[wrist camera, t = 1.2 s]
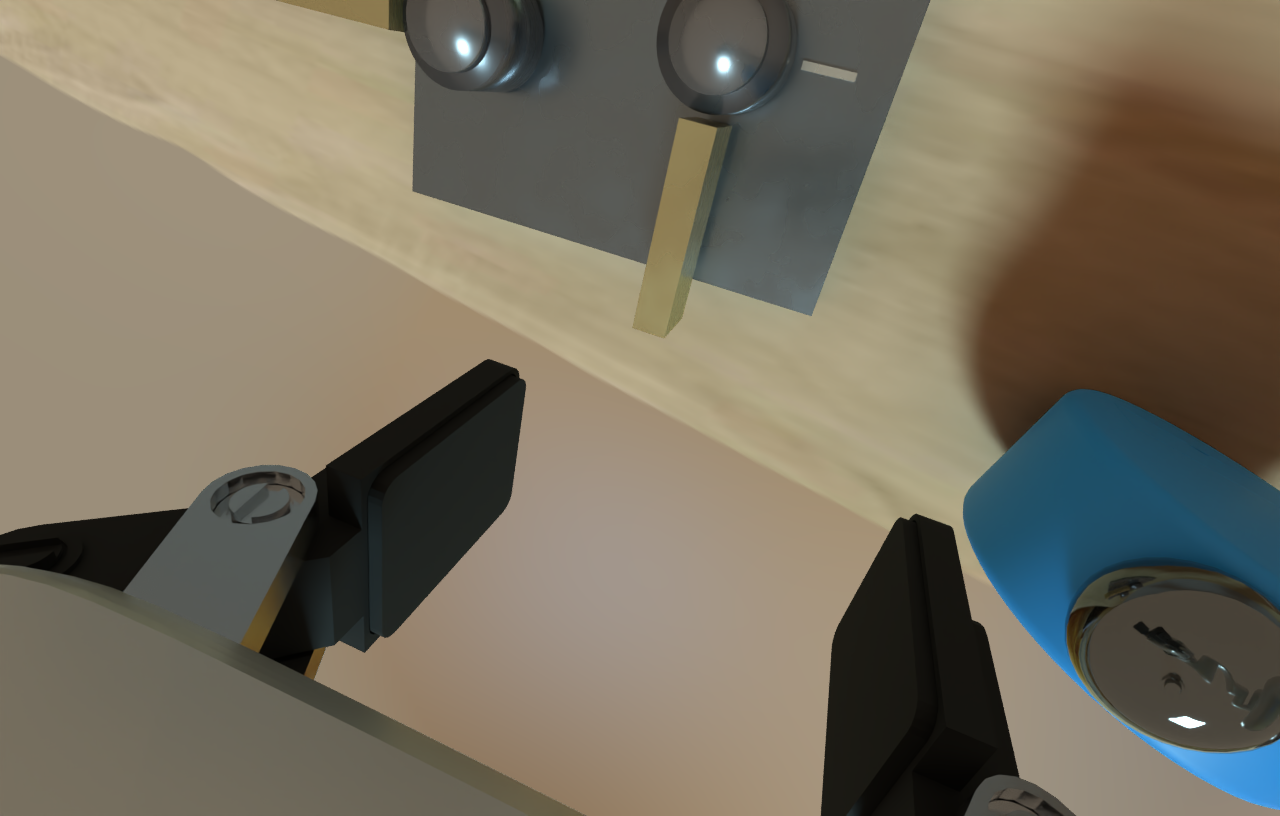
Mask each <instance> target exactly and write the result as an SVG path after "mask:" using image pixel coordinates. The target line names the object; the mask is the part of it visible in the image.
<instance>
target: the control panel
mask: <svg viewBox="0 0 1280 816" xmlns="http://www.w3.org/2000/svg"><path fill="white" fill-rule="evenodd" d="M786 1H787V2H788V4H789V6H790V8H791V10H792V12H793V15H794V18H795V22H796V27H797V51H796V57H795V61H794V64H793V67H792V70H791V72H790V74H789V76H788V78H787V80H786V82H785V83H784V85H783V86H782V88H781V89H780V90H779V91H778V93H777V94H776V95H775V96H774V97H773V98H772V99H770V100H769V101H768V102H767V103H765V104H764V105H762V106H760V107H759V108H757V109H755V110H752V111H750V112H746V113H741V114H730V115H709V114H704V113H700V112H698V111H695V110H693V109H691V108H689V107H687V106H686V105H685V104H683V103H682V102H681V101H680V100H679V99H677V98H676V97H675V95H674V94H673V93H672V92H671V90H670V89H669V87H668V86H667V84H666V82H665V80H664V78H663V76H662V73H661V70H660V67H659V63H658V58H657V48H656V42H657V30H658V25H659V21H660V17H661V14H662V11H663V8H664V6H665V4H666V2H667V0H536V2H537V4H538V7H539V10H540V13H541V17H542V23H543V35H544V37H543V48H542V53H541V57H540V60H539V63H538V65H537V67H536V69H535V71H534V73H533V74H532V75H531V77H530V78H529V79H528V80H527V81H526V82H525V83H524V84H523V85H521V86H520V87H518V88H516V89H514V90H512V91H508V92H479V91H456V90H451V89H448V88H445V87H443V86H441V85H439V84H437V83H436V82H434V81H433V80H432V79H431V78H429V77H428V76H427V75H426V74H425V73H424V71H423V70H422V69H421V68H420V66H419V65H418V63H417V62H416V63H415V107H414V150H413V191H414V192H417V193H420V194H423V195H427V196H430V197H433V198H436V199H439V200H443V201H446V202H449V203H452V204H455V205H459V206H462V207H465V208H468V209H471V210H474V211H478V212H481V213H484V214H487V215H490V216H494V217H497V218H500V219H503V220H506V221H510V222H513V223H516V224H519V225H522V226H526V227H529V228H532V229H535V230H538V231H542V232H545V233H548V234H551V235H554V236H557V237H561V238H564V239H567V240H570V241H573V242H577V243H580V244H583V245H586V246H589V247H593V248H596V249H599V250H602V251H605V252H609V253H612V254H615V255H618V256H621V257H625V258H628V259H631V260H634V261H637V262H640V263H644V264H647V260H648V255H649V251H650V246H651V242H652V237H653V233H654V228H655V224H656V219H657V215H658V210H659V206H660V201H661V197H662V192H663V188H664V183H665V178H666V174H667V169H668V165H669V160H670V156H671V151H672V147H673V142H674V138H675V133H676V129H677V124H678V120H679V118H685V117H701V118H704V119H708V120H712V121H716V122H720V123H724V124H727V125H731V126H732V130H731V134H730V138H729V141H728V145H727V149H726V153H725V157H724V160H723V164H722V168H721V172H720V176H719V179H718V183H717V187H716V191H715V195H714V198H713V202H712V206H711V210H710V213H709V217H708V221H707V225H706V229H705V232H704V236H703V240H702V244H701V248H700V251H699V255H698V259H697V263H696V267H695V270H694V274H693V278H692V279H695V280H698V281H701V282H704V283H708V284H711V285H714V286H717V287H720V288H723V289H727V290H730V291H733V292H736V293H739V294H743V295H746V296H749V297H752V298H755V299H759V300H762V301H765V302H768V303H771V304H775V305H778V306H781V307H784V308H787V309H791V310H794V311H797V312H800V313H803V314H806V315H810V316H812V313H813V310H814V308H815V305H816V302H817V300H818V297H819V294H820V292H821V289H822V286H823V284H824V281H825V279H826V276H827V273H828V271H829V268H830V265H831V263H832V260H833V257H834V255H835V252H836V249H837V247H838V244H839V241H840V239H841V236H842V233H843V231H844V228H845V225H846V223H847V220H848V218H849V215H850V212H851V210H852V207H853V204H854V202H855V199H856V196H857V194H858V191H859V188H860V186H861V183H862V180H863V178H864V175H865V172H866V170H867V167H868V164H869V162H870V159H871V157H872V154H873V151H874V149H875V146H876V143H877V141H878V138H879V135H880V133H881V130H882V127H883V125H884V122H885V119H886V117H887V114H888V111H889V109H890V106H891V103H892V101H893V98H894V96H895V93H896V90H897V88H898V85H899V82H900V80H901V77H902V74H903V72H904V69H905V66H906V64H907V61H908V58H909V56H910V53H911V50H912V48H913V45H914V42H915V40H916V37H917V34H918V32H919V29H920V27H921V24H922V21H923V19H924V16H925V13H926V11H927V8H928V5H929V3H930V0H786Z"/></svg>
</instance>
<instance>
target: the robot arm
mask: <svg viewBox="0 0 1280 816" xmlns="http://www.w3.org/2000/svg"><path fill="white" fill-rule="evenodd" d="M525 390H526V383H525V381H524V380H523V379H520V378H519V371H518V370H517V369H515V368H513V367H510V366H507V365H504V364H501V363H498V362H496V361H493V360H490V359H487V360H485V361H483V362H482V363H480V364H479V365H477V366H476V367H474V368H473V369H471V370H470V371H468V372H467V373H465V374H464V375H462V376H461V377H459V378H458V379H456V380H454V381H453V382H452V383H450V384H448V385H447V386H446V387H444V388H442V389H441V390H439V391H438V392H436V393H435V394H433V395H432V396H430V397H429V398H427V399H426V400H424V401H423V402H421V403H420V404H418V405H417V406H415V407H414V408H412V409H411V410H409V411H408V412H406V413H405V414H403V415H402V416H400V417H399V418H397V419H396V420H394V421H393V422H391V423H390V424H388V425H386V426H385V427H383V428H382V429H380V430H379V431H377V432H376V433H374V434H373V435H371V436H370V437H368V438H367V439H365V440H364V441H363V442H361V443H359V444H358V445H356V446H355V447H353V448H352V449H350V450H349V451H347V452H346V453H344V454H343V455H341V456H340V457H338V458H337V459H335V460H334V461H332V462H331V463H329V464H328V465H326V468H325V469H323V470H322V471H320V472H319V473H317V474H316V475H314V476H313V477H310V476H309V475H308V474H306V473H304V472H302V471H300V470H297V469H295V468H291V467H285V466H280V465H260V466H254V467H248V468H243V469H240V470H237V471H233V472H231V473H227V474H225V475H224V476H222V477H220V478H218V479H216V480H214V481H213V482H211V483H210V484H209V485H208V486H207V487H206V488H205V489H204V490H203V491H202V492H201V493H200V494H199V495H198V497H197V498H196V499H195V501H194V502H193V503H192V504H191V506H190V507H189V508H187V509H177V510H169V511H160V512H151V513H143V514H134V515H124V516H116V517H107V518H98V519H90V520H80V521H71V522H62V523H54V524H44V525H38V526H33V527H27V528H22V529H17V530H14V531H11V532H8V533H5V534H2V535H0V816H586V815H584V814H582V813H580V812H578V811H576V810H574V809H572V808H570V807H568V806H566V805H564V804H562V803H560V802H558V801H556V800H554V799H552V798H550V797H548V796H546V795H544V794H542V793H540V792H538V791H536V790H534V789H532V788H530V787H528V786H526V785H524V784H522V783H520V782H518V781H516V780H514V779H512V778H510V777H508V776H506V775H504V774H502V773H500V772H498V771H496V770H494V769H492V768H490V767H488V766H486V765H484V764H482V763H480V762H478V761H476V760H474V759H472V758H470V757H468V756H466V755H464V754H462V753H460V752H458V751H456V750H454V749H452V748H450V747H448V746H446V745H444V744H442V743H440V742H438V741H436V740H434V739H432V738H430V737H428V736H426V735H424V734H422V733H420V732H418V731H416V730H414V729H412V728H410V727H408V726H406V725H404V724H402V723H399V722H398V721H396V720H393V719H391V718H389V717H387V716H385V715H383V714H381V713H379V712H377V711H375V710H373V709H371V708H369V707H367V706H365V705H363V704H361V703H359V702H357V701H355V700H353V699H351V698H349V697H347V696H344V695H343V694H341V693H338V692H337V691H335V690H333V689H331V688H328V687H327V686H325V685H322V684H321V683H318V682H316V681H314V678H315V676H316V673H317V671H318V668H319V665H320V663H321V660H322V658H323V655H324V652H325V650H326V647H328V646H332V645H335V644H336V643H337V642H338V641H342V642H344V643H346V644H348V645H350V646H352V647H354V648H356V649H358V650H360V651H362V652H364V653H365V652H366V651H367V650H368V649H369V647H370V646H371V645H372V644H373V643H374V642H375V641H376V640H377V639H378V638H379V637H380V636H382V637H384V638H386V637H389V636H391V635H392V634H393V633H394V632H395V631H396V630H397V629H398V628H399V627H400V626H401V625H402V623H403V622H404V621H405V620H406V619H407V618H408V617H409V616H410V615H411V613H412V612H413V611H414V610H415V609H416V608H417V607H418V606H419V605H420V603H421V602H422V601H423V600H424V599H425V598H426V597H427V596H428V594H430V592H431V591H432V590H433V589H434V588H435V587H436V586H437V585H438V583H439V582H440V581H441V580H442V579H443V578H444V577H445V576H446V575H447V574H448V572H449V571H450V570H451V569H452V568H453V567H454V566H455V565H456V564H457V562H458V561H459V560H460V559H461V558H462V557H463V556H464V554H466V553H467V551H468V550H469V549H470V548H471V547H472V546H473V545H474V544H475V542H476V541H477V540H478V539H479V538H480V537H481V536H482V535H483V534H484V533H485V531H486V530H487V529H488V528H489V527H490V526H491V525H492V524H493V522H494V521H495V520H496V519H497V518H498V517H499V515H501V514H502V512H503V511H504V510H505V508H506V507H507V505H508V503H509V500H510V497H511V493H512V487H513V479H514V472H515V464H516V457H517V450H518V442H519V435H520V427H521V420H522V412H523V405H524V397H525ZM825 745H826V746H825V761H824V775H823V791H822V806H821V816H1076V815H1075V814H1074V813H1072V812H1071V811H1070V810H1069V809H1068V808H1067V807H1066V806H1065V805H1064V804H1062V803H1061V802H1060V801H1059V800H1058V799H1057V798H1056V797H1054V796H1053V795H1051V794H1050V793H1048V792H1046V791H1045V790H1043V789H1042V788H1040V787H1039V786H1037V785H1035V784H1033V783H1030V782H1028V781H1026V780H1023V779H1021V778H1019V773H1018V769H1017V765H1016V761H1015V756H1014V751H1013V747H1012V742H1011V738H1010V734H1009V729H1008V725H1007V720H1006V716H1005V712H1004V707H1003V703H1002V699H1001V695H1000V690H999V685H998V681H997V677H996V672H995V668H994V663H993V659H992V655H991V651H990V646H989V641H988V637H987V634H986V631H985V629H984V627H983V626H982V625H981V624H980V623H978V622H976V621H973V620H972V619H971V613H970V608H969V604H968V599H967V594H966V589H965V584H964V580H963V574H962V569H961V564H960V560H959V555H958V550H957V545H956V540H955V535H954V531H953V528H952V527H951V526H949V525H946V524H943V523H940V522H938V521H935V520H932V519H929V518H927V517H924V516H921V515H918V514H914V515H913V516H912V517H911V518H910V519H909V520H907V519H904V518H901V517H900V518H898V519H897V520H896V522H895V523H894V525H893V527H892V529H891V531H890V532H889V534H888V536H887V538H886V540H885V541H884V543H883V545H882V547H881V549H880V551H879V552H878V554H877V556H876V558H875V560H874V561H873V563H872V565H871V567H870V569H869V571H868V572H867V574H866V576H865V578H864V579H863V581H862V583H861V585H860V587H859V589H858V590H857V592H856V594H855V596H854V598H853V600H852V601H851V603H850V605H849V607H848V609H847V610H846V612H845V614H844V616H843V618H842V619H841V621H840V623H839V625H838V627H837V629H836V632H835V635H834V639H833V643H832V652H831V668H830V683H829V698H828V713H827V729H826V744H825Z"/></svg>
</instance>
